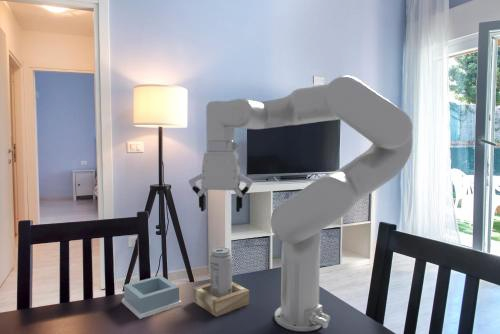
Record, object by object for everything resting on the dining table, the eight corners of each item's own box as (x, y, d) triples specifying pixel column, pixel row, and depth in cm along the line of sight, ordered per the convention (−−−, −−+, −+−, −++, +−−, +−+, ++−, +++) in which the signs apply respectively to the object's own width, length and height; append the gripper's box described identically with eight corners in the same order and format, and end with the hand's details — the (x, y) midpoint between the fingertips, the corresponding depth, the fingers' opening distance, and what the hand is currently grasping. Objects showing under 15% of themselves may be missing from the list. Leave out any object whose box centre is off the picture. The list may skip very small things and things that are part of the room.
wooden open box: (249, 304, 99) (249, 290, 99) (216, 316, 92) (216, 301, 92) (225, 291, 107) (225, 278, 107) (193, 301, 100) (193, 287, 100)
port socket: (181, 304, 98) (181, 287, 98) (139, 318, 91) (139, 299, 90) (161, 290, 108) (161, 274, 107) (121, 302, 100) (121, 284, 99)
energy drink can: (234, 306, 98) (234, 252, 97) (212, 309, 96) (212, 254, 95) (229, 297, 103) (229, 246, 102) (208, 299, 102) (208, 247, 101)
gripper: (253, 147, 99) (253, 208, 101) (192, 147, 101) (192, 207, 102) (251, 148, 92) (251, 214, 93) (185, 148, 93) (186, 212, 95)
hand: (220, 210), depth 98 cm, fingers open, 9 cm apart
